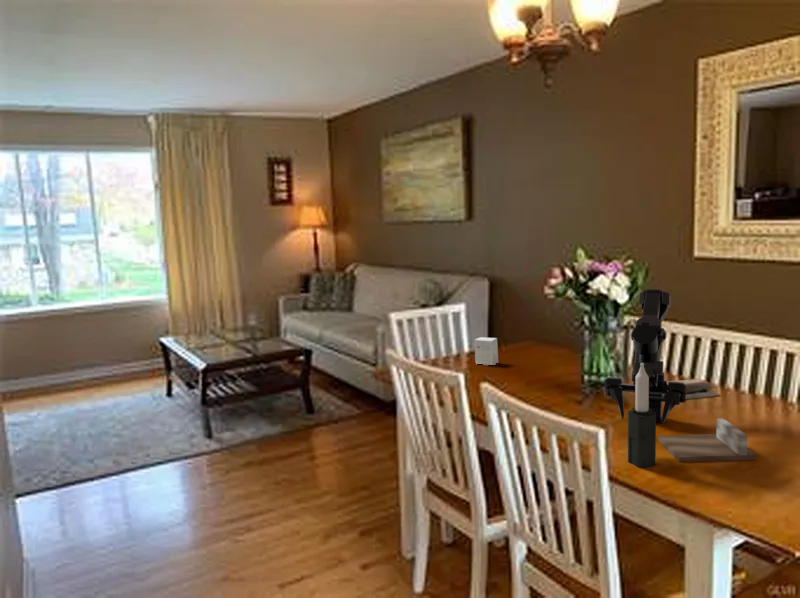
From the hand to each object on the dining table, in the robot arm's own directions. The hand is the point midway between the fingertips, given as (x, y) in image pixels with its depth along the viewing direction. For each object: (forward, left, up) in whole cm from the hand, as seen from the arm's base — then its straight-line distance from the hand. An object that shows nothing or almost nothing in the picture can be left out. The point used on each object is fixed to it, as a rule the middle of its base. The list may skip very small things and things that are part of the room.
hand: (642, 420), depth 146 cm
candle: (+2, -1, -10) cm, 11 cm away
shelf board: (-5, +17, -10) cm, 21 cm away
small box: (-99, -29, -10) cm, 104 cm away
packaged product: (-50, +30, -11) cm, 60 cm away
